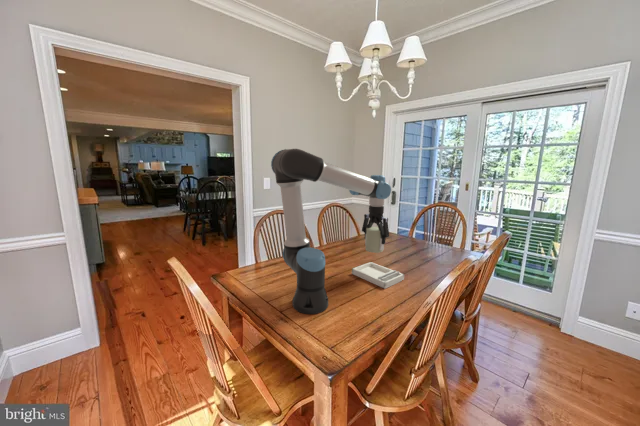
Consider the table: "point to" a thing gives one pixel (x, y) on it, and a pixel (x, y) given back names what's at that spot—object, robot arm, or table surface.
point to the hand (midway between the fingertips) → (374, 247)
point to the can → (373, 240)
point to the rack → (378, 274)
